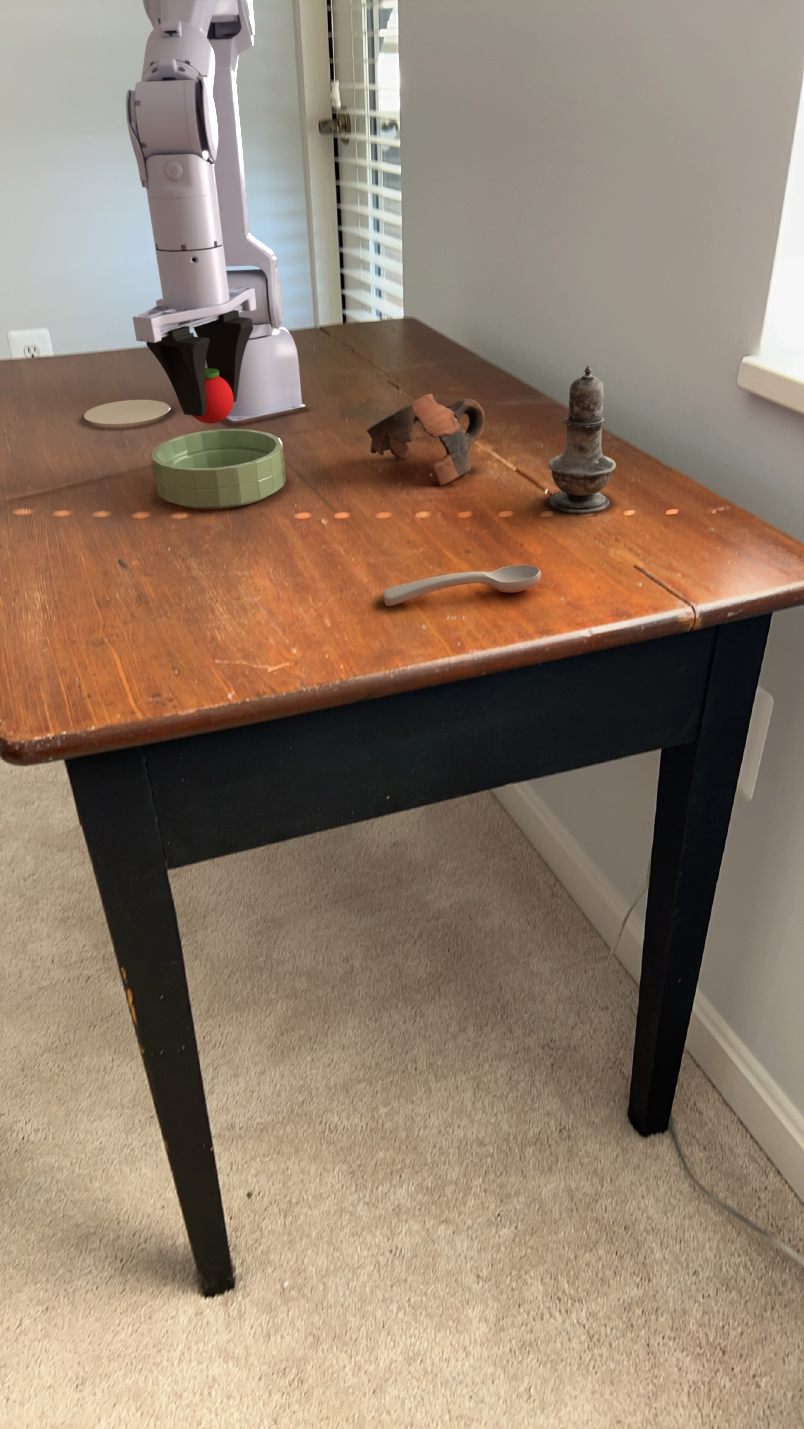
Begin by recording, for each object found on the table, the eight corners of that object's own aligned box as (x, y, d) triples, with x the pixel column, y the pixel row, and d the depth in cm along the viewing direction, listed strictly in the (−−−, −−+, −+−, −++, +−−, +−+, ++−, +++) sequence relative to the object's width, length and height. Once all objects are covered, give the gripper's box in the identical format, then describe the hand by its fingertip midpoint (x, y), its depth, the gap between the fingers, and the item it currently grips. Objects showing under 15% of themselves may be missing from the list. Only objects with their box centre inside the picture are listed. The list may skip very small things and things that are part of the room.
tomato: (208, 413, 96) (201, 363, 94) (245, 418, 95) (239, 367, 92) (178, 426, 93) (170, 374, 91) (216, 431, 91) (209, 379, 89)
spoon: (546, 593, 75) (545, 568, 74) (389, 620, 74) (386, 596, 73) (535, 576, 78) (534, 553, 77) (383, 603, 77) (380, 579, 76)
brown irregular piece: (423, 500, 94) (380, 419, 92) (384, 514, 103) (344, 440, 101) (519, 442, 98) (480, 363, 96) (474, 460, 106) (437, 388, 104)
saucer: (151, 399, 125) (150, 394, 125) (184, 417, 118) (183, 412, 118) (72, 414, 121) (71, 409, 120) (102, 434, 114) (101, 429, 113)
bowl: (250, 459, 104) (246, 421, 102) (309, 492, 96) (305, 450, 93) (138, 485, 99) (131, 445, 97) (189, 522, 90) (183, 479, 88)
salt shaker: (540, 492, 93) (546, 359, 87) (603, 488, 94) (613, 355, 87) (554, 516, 88) (561, 376, 82) (620, 512, 89) (632, 372, 82)
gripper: (205, 233, 93) (223, 383, 100) (94, 257, 82) (124, 423, 89) (268, 235, 90) (282, 390, 97) (161, 261, 79) (187, 433, 87)
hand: (210, 407), depth 93 cm, fingers closed on tomato, 4 cm apart
